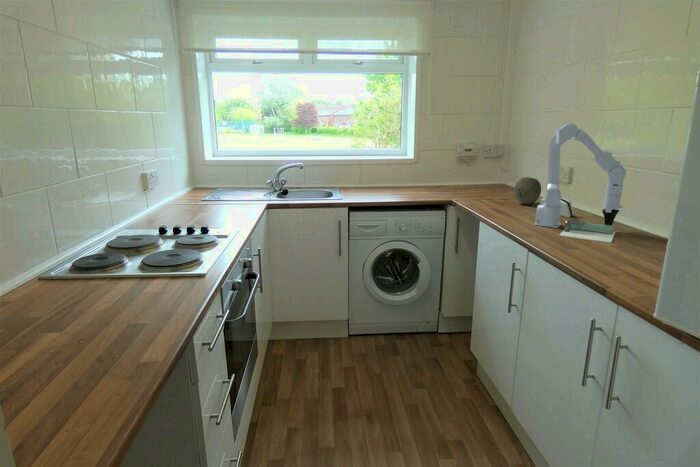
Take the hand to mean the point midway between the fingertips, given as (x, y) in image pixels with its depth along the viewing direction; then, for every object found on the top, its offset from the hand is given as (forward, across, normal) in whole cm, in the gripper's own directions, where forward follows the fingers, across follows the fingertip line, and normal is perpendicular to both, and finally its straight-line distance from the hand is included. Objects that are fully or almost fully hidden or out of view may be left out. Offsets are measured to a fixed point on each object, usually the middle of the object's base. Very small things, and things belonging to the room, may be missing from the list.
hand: (608, 226), depth 178 cm
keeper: (+1, -12, +10) cm, 16 cm away
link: (+1, -6, +6) cm, 8 cm away
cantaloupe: (+2, +39, +45) cm, 60 cm away
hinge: (+2, +23, +26) cm, 35 cm away
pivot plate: (+2, -12, +5) cm, 13 cm away
